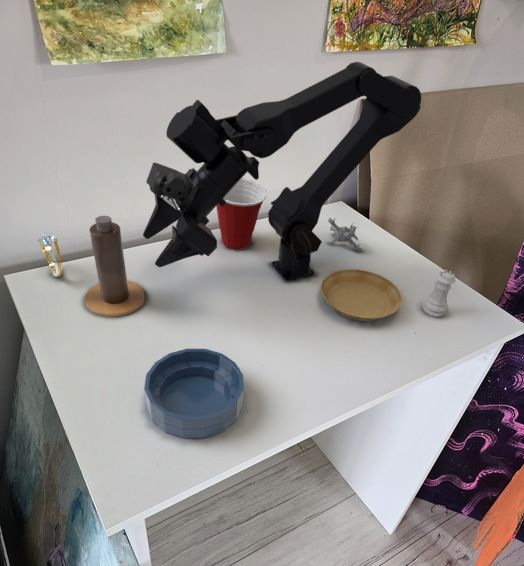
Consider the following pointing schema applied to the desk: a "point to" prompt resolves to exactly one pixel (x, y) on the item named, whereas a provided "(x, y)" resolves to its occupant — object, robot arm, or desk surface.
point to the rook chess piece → (439, 295)
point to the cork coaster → (113, 310)
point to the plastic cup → (240, 213)
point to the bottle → (109, 260)
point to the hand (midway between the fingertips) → (150, 250)
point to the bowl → (194, 393)
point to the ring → (51, 253)
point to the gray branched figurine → (344, 234)
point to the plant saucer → (360, 294)
